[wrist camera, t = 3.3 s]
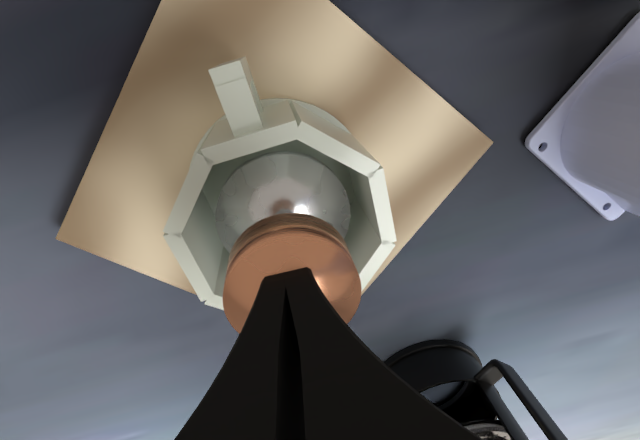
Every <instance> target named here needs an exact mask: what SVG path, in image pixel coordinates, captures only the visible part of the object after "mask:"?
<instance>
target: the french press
mask: <svg viewBox="0 0 640 440" xmlns="http://www.w3.org/2000/svg"><path fill="white" fill-rule="evenodd" d="M384 363H385V364H386V365H387V366H388V367H389V368H390V369H391V370H392V371H394V372H395V373H396V374H397V375H398V376H399V377H400V378H402V379H403V380H404V381H405V382H407V383H408V384H409V385H410V386H412V387H413V388H414V389H415V390H416V391H418V392H419V393H421V392H423V391H425V390H427V389H429V388H432V387H435V386H438V385H441V384H445V383H450V382H458V381H465V383H464V385H463V387H462V388H461V390H460V391H459V392H458V393H457V394H456V395H455V396H454V397H453V398H452V399H450V400H449V401H447V402H446V403H444V404H443V405H440V406H438V408H439V409H441V410H442V411H443V412H445V413H446V414H448V415H449V416H450V417H452V418H453V419H454V420H456V421H457V422H459V423H460V424H461V425H463V426H464V427H466V428H467V429H469V430H470V431H471V432H473V433H474V434H476V435H477V436H479V437H480V438H482V439H483V440H529V439H528V438H527V436H526V435H525V433H524V432H523V430H522V429H521V427H520V426H519V424H518V423H517V421H516V420H515V418H514V417H513V415H512V414H511V412H510V411H509V409H508V408H507V406H506V405H505V403H504V402H503V400H502V399H501V397H500V394H499V392H498V391H497V389H496V388H495V386H494V384H495V383H496V382H497V381H498V380H500V379H501V378H502V377H504V378H505V379H506V381H507V382H508V384H509V385H510V386H511V388H512V389H513V391H514V392H515V393H516V395H517V396H518V398H519V399H520V400H521V402H522V403H523V405H524V406H525V407H526V409H527V410H528V412H529V413H530V414H531V416H532V417H533V419H534V420H535V421H536V423H537V424H538V425H539V427H540V428H541V430H542V431H543V432H544V434H545V435H546V437H547V438H548V439H549V440H568V439H567V438H566V437H565V435H564V434H563V433H562V431H561V430H560V429H559V427H558V426H557V425H556V424H555V422H554V421H553V420H552V418H551V417H550V416H549V414H548V413H547V412H546V410H545V409H544V408H543V407H542V405H541V404H540V403H539V401H538V400H537V399H536V397H535V396H534V395H533V393H532V392H531V391H530V390H529V388H528V387H527V386H526V384H525V383H524V382H523V380H522V379H521V378H520V376H519V375H518V374H517V373H516V371H515V370H514V369H513V368H512V367H511V366H509V365H507V364H505V363H503V362H501V361H498V360H496V359H493V360H491V361H490V362H489V363H487V364H486V365H485V366H484V367H483V368H482V364H481V361H480V359H479V357H478V356H477V354H476V353H475V352H474V351H473V350H472V349H471V348H469V347H468V346H466V345H465V344H462V343H459V342H456V341H450V340H432V341H427V342H422V343H418V344H415V345H413V346H410V347H408V348H406V349H403V350H401V351H399V352H398V353H396V354H395V355H393V356H392V357H390V358H389V359H388V360H387V361H386V362H384ZM497 418H498V419H499V420H497Z"/></svg>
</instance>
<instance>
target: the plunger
mask: <svg viewBox="0 0 640 440" xmlns="http://www.w3.org/2000/svg"><path fill="white" fill-rule="evenodd" d="M215 222H216V228H217V232H218V235H219V238H220V240H221V242H222V244H223V245H224V247H225V248H226V250H227V251H228V252H229V253H230V255H229V259H228V265H227V271H226V277H225V283H224V289H223V308H224V312H225V314H226V317H227V319H228V321H229V322H230V324H231V325H232V327H233V328H234V329H235V330H236V331H237V332H238V333H239V334H240V332H241V330H242V328H243V326H244V324H245V321H246V319H247V317H248V315H249V313H250V310H251V308H252V305H253V303H254V301H255V298H256V296H257V293H258V290H259V287H260V285H261V282H262V280H263V278H264V277H266V276H270V275H274V274H279V273H283V272H287V271H292V270H296V269H300V268H304V267H308V268H310V269H311V270H312V273H313V276H314V278H315V280H316V282H317V284H318V285H319V287H320V289H321V290H322V292H323V294H324V295H325V297H326V298H327V299H328V301H329V302H330V304H331V305H332V306H333V308H334V309H335V310H336V312H337V313H338V314H339V315H340V317H341V318H342V319H343V320H344V322H345V323H346V324H348V322H349V321H350V320H351V319H352V317H353V316H354V314H355V312H356V310H357V308H358V306H359V303H360V299H361V281H360V277H359V274H358V272H357V269H356V267H355V264H354V262H353V259H352V257H351V254H350V252H349V250H348V247H347V245H346V242H345V241H344V238H345V236H346V234H347V231H348V228H349V224H350V204H349V200H348V197H347V193H346V191H345V189H344V187H343V185H342V184H341V182H340V180H339V179H338V177H337V176H336V174H335V173H334V172H333V171H332V170H331V169H330V168H329V167H328V166H327V165H325V164H324V163H323V162H321V161H319V160H318V159H316V158H314V157H312V156H309V155H307V154H303V153H300V152H294V151H272V152H267V153H263V154H260V155H258V156H255V157H253V158H251V159H249V160H247V161H245V162H244V163H243V164H241V165H240V166H238V167H237V168H236V169H235V170H234V171H233V172H232V173H231V174H230V176H229V177H228V178H227V180H226V181H225V183H224V185H223V187H222V189H221V191H220V194H219V197H218V201H217V205H216V211H215Z"/></svg>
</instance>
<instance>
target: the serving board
mask: <svg viewBox="0 0 640 440" xmlns="http://www.w3.org/2000/svg"><path fill="white" fill-rule="evenodd" d="M244 56H246V59H247V62H248V65H249V68H250V71H251V74H252V77H253V80H254V83H255V86H256V89H257V92H258V95H259V98H260V99H267V98H290V99H295V100H300V101H304V102H307V103H310V104H313V105H315V106H317V107H319V108H321V109H323V110H325V111H326V112H328V113H329V114H331V115H332V116H334V117H335V118H336V119H337V120H338V121H340V122H341V123H342V124H343V125H344V126H345V127H346V128H347V130H348V131H349V132H350V133H351V134H352V135H353V136H354V137H355V138H356V139H357V140H358V141H359V143H360V144H361V145H362V146H363V147H364V148H365V149H366V150H367V151H368V152H369V153H370V154H371V155H372V156H373V157H374V158H375V159H376V160H377V161H378V162H379V163H380V164H381V166H382V167H383V169H384V175H385V180H386V186H387V191H388V196H389V202H390V207H391V213H392V218H393V223H394V229H395V234H396V240H397V241H396V242H394V243H395V247H394V248H393V250H392V251H391V252H390V254H389V255H388V256H387V258H386V259H385V260H384V262H383V263H382V265H381V266H380V267H379V269H378V270H377V271H376V273H375V274H374V276H373V277H372V278H371V280H370V281H369V282H368V284H367V285H366V287H365V288H364V289H363V291H362V292H361V295H362V294H363V293H364V292H365V291H366V289H367V288H368V287H369V286H370V285H371V284H372V283H373V281H374V280H375V279H376V278H377V277H378V276H379V274H380V273H381V272H382V271H383V270H384V269H385V267H386V266H387V265H388V264H389V263H390V262H391V261H392V259H393V258H394V257H395V256H396V255H397V254H398V252H399V251H400V250H401V249H402V248H403V247H404V245H405V244H406V243H407V242H408V241H409V240H410V239H411V237H412V236H413V235H414V234H415V233H416V232H417V230H418V229H419V228H420V227H421V226H422V225H423V223H424V222H425V221H426V220H427V219H428V218H429V217H430V215H431V214H432V213H433V212H434V211H435V210H436V208H437V207H438V206H439V205H440V204H441V203H442V201H443V200H444V199H445V198H446V197H447V196H448V195H449V193H450V192H451V191H452V190H453V189H454V188H455V186H456V185H457V184H458V183H459V182H460V181H461V179H462V178H463V177H464V176H465V175H466V174H467V173H468V171H469V170H470V169H471V168H472V167H473V166H474V164H475V163H476V162H477V161H478V160H479V159H480V157H481V156H482V155H483V154H484V153H485V152H486V151H487V149H488V148H489V147H490V146H491V145H492V144H493V141H492V140H490V139H489V138H488V137H487V136H486V135H485V134H483V133H482V132H481V131H480V130H479V129H478V128H476V127H475V126H474V125H473V124H472V123H471V122H469V121H468V120H467V119H466V118H465V117H464V116H463V115H461V114H460V113H459V112H458V111H457V110H456V109H454V108H453V107H452V106H451V105H450V104H449V103H447V102H446V101H445V100H444V99H443V98H442V97H440V96H439V95H438V94H437V93H436V92H435V91H433V90H432V89H431V88H430V87H429V86H428V85H427V84H425V83H424V82H423V81H422V80H421V79H420V78H418V77H417V76H416V75H415V74H414V73H413V72H411V71H410V70H409V69H408V68H407V67H406V66H404V65H403V64H402V63H401V62H400V61H399V60H398V59H396V58H395V57H394V56H393V55H392V54H391V53H389V52H388V51H387V50H386V49H385V48H384V47H382V46H381V45H380V44H379V43H378V42H377V41H375V40H374V39H373V38H372V37H371V36H370V35H368V34H367V33H366V32H365V31H364V30H363V29H362V28H360V27H359V26H358V25H357V24H356V23H355V22H353V21H352V20H351V19H350V18H349V17H348V16H346V15H345V14H344V13H343V12H342V11H341V10H339V9H338V8H337V7H336V6H335V5H334V4H333V3H331V2H330V1H329V0H161V2H160V5H159V7H158V9H157V11H156V14H155V16H154V18H153V20H152V23H151V25H150V27H149V29H148V32H147V34H146V36H145V38H144V41H143V43H142V45H141V47H140V50H139V52H138V54H137V56H136V59H135V61H134V63H133V65H132V68H131V70H130V72H129V74H128V77H127V79H126V81H125V84H124V86H123V88H122V90H121V93H120V95H119V97H118V99H117V102H116V104H115V106H114V108H113V111H112V113H111V115H110V117H109V120H108V122H107V124H106V126H105V129H104V131H103V133H102V135H101V138H100V140H99V142H98V144H97V147H96V149H95V151H94V153H93V156H92V158H91V160H90V162H89V165H88V167H87V169H86V171H85V174H84V176H83V178H82V180H81V183H80V185H79V187H78V189H77V192H76V194H75V196H74V198H73V201H72V203H71V205H70V207H69V210H68V212H67V214H66V216H65V219H64V221H63V223H62V225H61V228H60V230H59V232H58V234H57V237H56V239H57V240H60V241H62V242H65V243H67V244H70V245H72V246H75V247H77V248H80V249H82V250H85V251H87V252H90V253H92V254H95V255H97V256H100V257H102V258H105V259H108V260H110V261H113V262H115V263H118V264H120V265H123V266H125V267H128V268H130V269H133V270H135V271H138V272H140V273H143V274H145V275H148V276H150V277H153V278H155V279H158V280H160V281H163V282H166V283H168V284H171V285H173V286H176V287H178V288H181V289H183V290H186V291H188V292H191V293H193V294H196V292H195V290H194V289H193V287H192V285H191V283H190V282H189V280H188V278H187V277H186V275H185V273H184V271H183V270H182V268H181V266H180V265H179V263H178V261H177V259H176V258H175V256H174V254H173V253H172V251H171V249H170V247H169V246H168V244H167V242H166V240H165V239H164V237H163V235H164V233H165V232H163V230H164V227H165V225H166V223H167V220H168V218H169V216H170V213H171V211H172V209H173V206H174V204H175V202H176V199H177V197H178V195H179V192H180V190H181V188H182V185H183V183H184V181H185V179H186V176H187V174H188V172H189V167H190V163H191V160H192V157H193V154H194V151H195V150H196V148H197V146H198V144H199V142H200V140H201V139H202V137H203V136H204V135H205V133H206V132H207V130H208V129H209V128H210V127H211V126H212V125H213V124H214V123H215V122H216V121H217V120H218V119H219V118H221V117H222V116H223V115H225V112H224V110H223V107H222V105H221V102H220V99H219V97H218V94H217V92H216V89H215V86H214V84H213V81H212V78H211V76H210V73H209V71H208V70H209V69H211V68H213V67H215V66H217V65H219V64H221V63H224V62H228V61H231V60H234V59H238V58H241V57H244ZM196 295H197V294H196Z"/></svg>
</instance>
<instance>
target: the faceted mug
mask: <svg viewBox="0 0 640 440" xmlns="http://www.w3.org/2000/svg"><path fill="white" fill-rule="evenodd" d="M208 71H209V73H210V76H211V78H212V81H213V84H214V86H215V89H216V92H217V94H218V97H219V99H220V102H221V105H222V107H223V110H224V112H225V115H223V116H222V117H221V118H219V119H218V120H217V121H216V122H215V123H214V124H213V125H212V126H211V127H210V128H209V129H208V130H207V132H206V133H205V135H204V136H203V137H202V139H201V140H200V142H199V144H198V146H197V148H196V150H195V151H194V154H193V157H192V160H191V163H190V167H189V172H188V174H187V176H186V179H185V181H184V183H183V185H182V188H181V190H180V192H179V195H178V197H177V199H176V202H175V204H174V206H173V209H172V211H171V213H170V216H169V218H168V220H167V223H166V225H165V227H164V230H163V232H165V233H164V235H163V237H164V239H165V240H166V242H167V244H168V246H169V247H170V249H171V251H172V253H173V254H174V256H175V258H176V259H177V261H178V263H179V265H180V266H181V268H182V270H183V271H184V273H185V275H186V277H187V278H188V280H189V282H190V283H191V285H192V287H193V289H194V290H195V292H196V294H197V296H198V297H199V299H200V301H205V304H206V305H209V306H212V307H215V308H219V309H222V310H224V308H223V289H224V283H225V277H226V271H227V265H228V259H229V255H230V253H229V252H228V251H227V250H226V248H225V247H224V245H223V244H222V242H221V240H220V238H219V235H218V232H217V228H216V222H215V211H216V205H217V201H218V197H219V194H220V191H221V189H222V187H223V185H224V183H225V181H226V180H227V178H228V177H229V176H230V174H231V173H232V172H233V171H234V170H235V169H236V168H237V167H238V166H240V165H241V164H243V163H244V162H245V161H247V160H249V159H251V158H253V157H255V156H258V155H260V154H263V153H267V152H272V151H294V152H300V153H303V154H307V155H309V156H312V157H314V158H316V159H318V160H319V161H321V162H323V163H324V164H325V165H327V166H328V167H329V168H330V169H331V170H332V171H333V172H334V173H335V174H336V176H337V177H338V179H339V180H340V182H341V184H342V185H343V187H344V189H345V191H346V193H347V197H348V200H349V204H350V224H349V228H348V231H347V234H346V236H345V238H344V241H345V242H346V245H347V247H348V250H349V252H350V254H351V257H352V259H353V262H354V264H355V267H356V269H357V272H358V274H359V277H360V281H361V292H362V291H363V289H364V288H365V287H366V285H367V284H368V282H369V281H370V280H371V278H372V277H373V276H374V274H375V273H376V271H377V270H378V269H379V267H380V266H381V265H382V263H383V262H384V260H385V259H386V258H387V256H388V255H389V254H390V252H391V251H392V250H393V248H394V247H395V243H394V242H396V241H397V240H396V234H395V229H394V223H393V218H392V213H391V207H390V202H389V196H388V191H387V186H386V180H385V175H384V169H383V167H382V166H381V164H380V163H379V162H378V161H377V160H376V159H375V158H374V157H373V156H372V155H371V154H370V153H369V152H368V151H367V150H366V149H365V148H364V147H363V146H362V145H361V144H360V143H359V141H358V140H357V139H356V138H355V137H354V136H353V135H352V134H351V133H350V132H349V131H348V130H347V128H346V127H345V126H344V125H343V124H342V123H341V122H340V121H338V120H337V119H336V118H335V117H334V116H332V115H331V114H329V113H328V112H326V111H325V110H323V109H321V108H319V107H317V106H315V105H313V104H310V103H307V102H304V101H300V100H295V99H290V98H267V99H260V98H259V95H258V92H257V89H256V86H255V83H254V80H253V77H252V74H251V71H250V68H249V65H248V62H247V59H246V56H244V57H241V58H238V59H234V60H231V61H228V62H224V63H221V64H219V65H217V66H215V67H213V68H211V69H209V70H208Z"/></svg>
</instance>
